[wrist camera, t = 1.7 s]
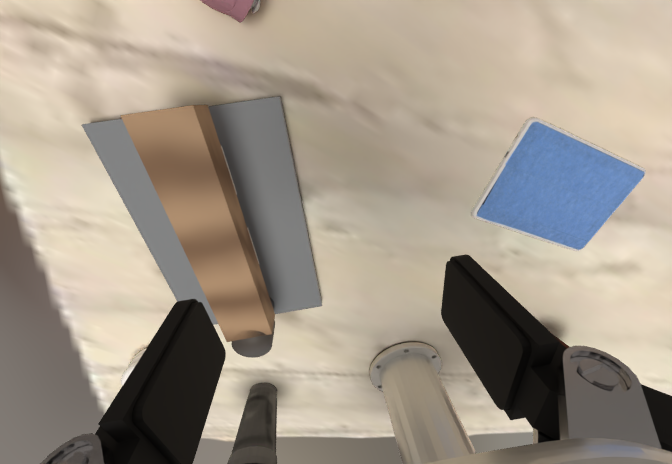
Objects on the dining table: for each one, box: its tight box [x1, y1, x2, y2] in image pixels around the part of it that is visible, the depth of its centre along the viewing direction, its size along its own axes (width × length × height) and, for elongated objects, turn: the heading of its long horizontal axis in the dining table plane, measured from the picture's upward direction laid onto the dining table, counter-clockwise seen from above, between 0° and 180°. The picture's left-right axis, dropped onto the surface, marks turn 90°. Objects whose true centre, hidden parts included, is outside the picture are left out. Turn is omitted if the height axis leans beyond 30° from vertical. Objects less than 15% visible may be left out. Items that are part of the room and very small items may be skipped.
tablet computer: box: [471, 117, 646, 251], centre depth 33 cm, size 19×13×1 cm, turn 71°
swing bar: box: [121, 105, 275, 357], centre depth 25 cm, size 26×5×3 cm, turn 7°
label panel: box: [82, 96, 322, 325], centre depth 29 cm, size 26×18×4 cm
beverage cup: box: [227, 383, 277, 464], centre depth 36 cm, size 7×7×20 cm
